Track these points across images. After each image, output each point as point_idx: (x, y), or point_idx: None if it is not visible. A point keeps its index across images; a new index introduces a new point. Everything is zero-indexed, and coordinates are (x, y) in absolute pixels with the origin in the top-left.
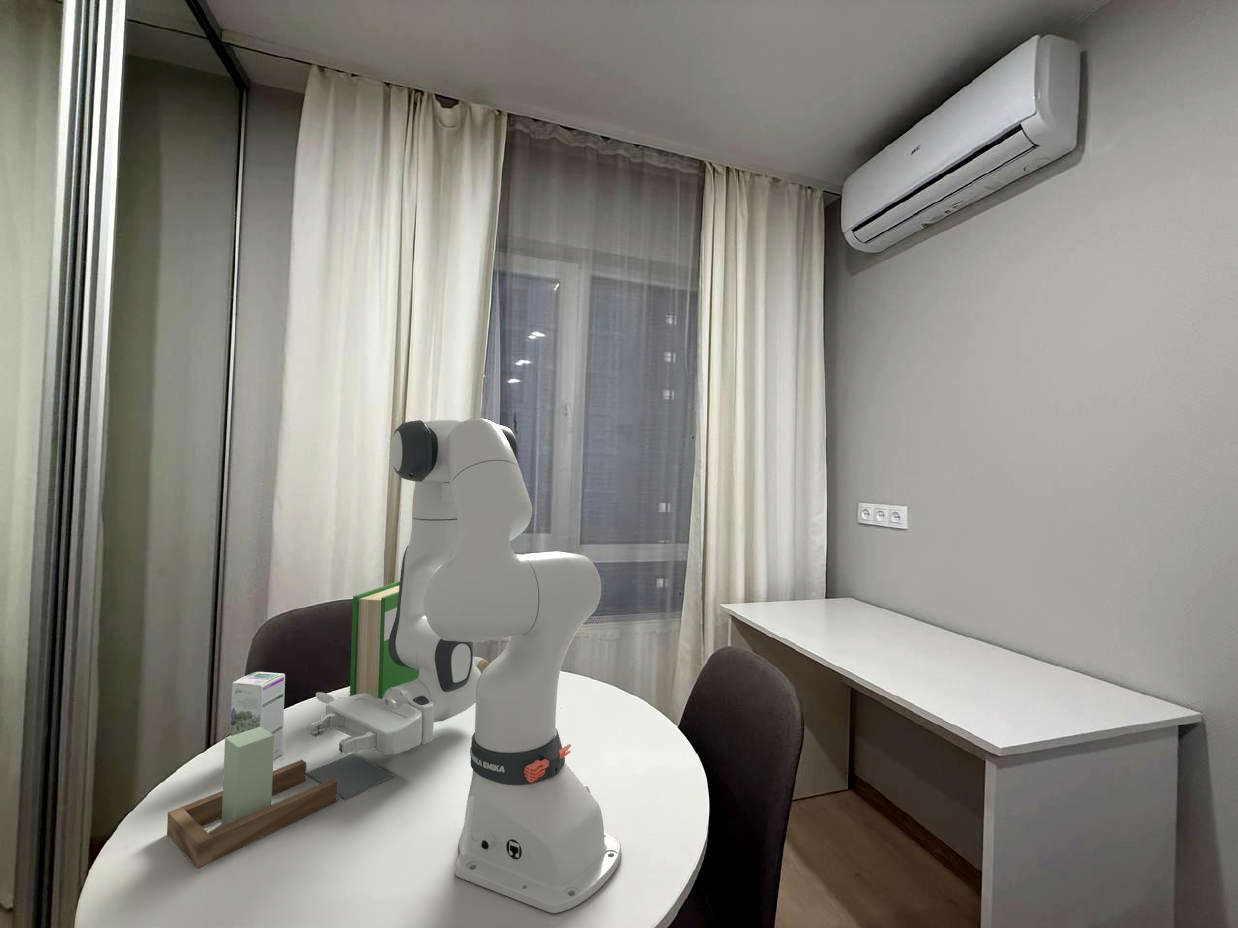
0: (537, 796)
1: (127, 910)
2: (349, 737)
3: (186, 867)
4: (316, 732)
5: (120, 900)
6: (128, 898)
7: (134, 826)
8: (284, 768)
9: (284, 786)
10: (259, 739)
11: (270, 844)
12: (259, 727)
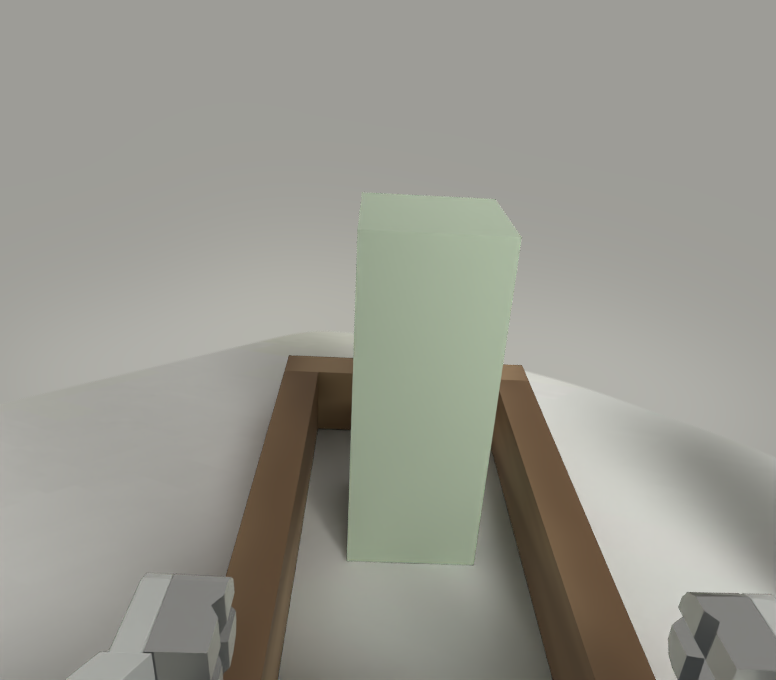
0: None
1: (278, 346)
2: (197, 640)
3: None
4: (683, 649)
5: (321, 347)
6: (314, 352)
7: (613, 403)
8: (606, 620)
9: (557, 670)
10: (367, 213)
11: (202, 510)
12: (510, 235)
